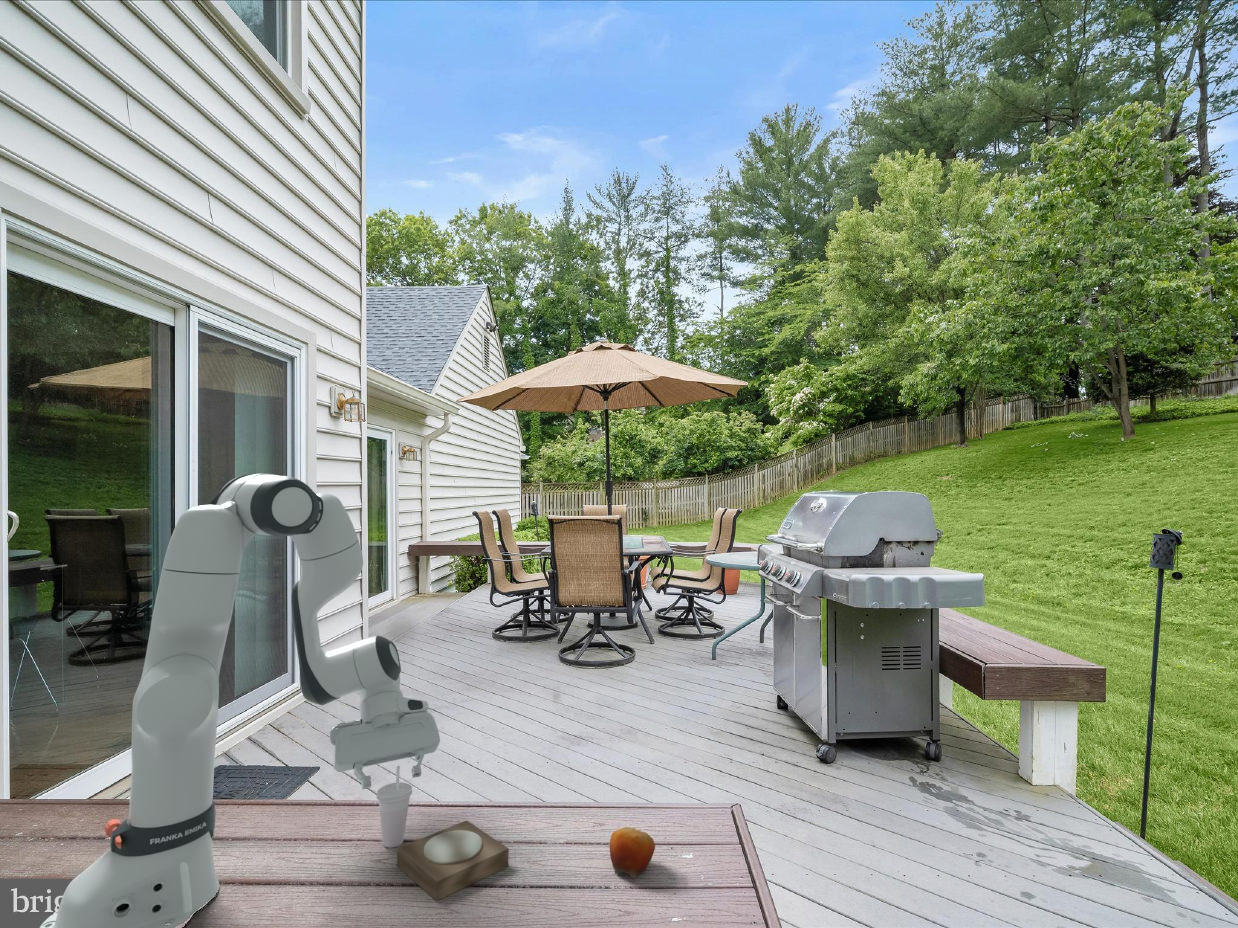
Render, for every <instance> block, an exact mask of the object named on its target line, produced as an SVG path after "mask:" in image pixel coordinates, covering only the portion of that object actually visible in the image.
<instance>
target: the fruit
mask: <svg viewBox="0 0 1238 928" xmlns="http://www.w3.org/2000/svg"><path fill="white" fill-rule="evenodd" d="M609 839H610V840H609V853H610V855H609V856H610V860H611V864H612V868H613V870H614V875H617V874H618V873H625V874H627V875H629V876H631V877H632V878H633V881H634V882H636V876H637V875H639V874H641V873H642V874H643V872H644V871H645V870H646V869H647V868H648V866H649V864H650V863H651V861H652V858H653V855H654V852H655V850H656V844H655V841H654V839H653V837H652V836H651V835H650V834H649V833H647V831H646V832H645V831H642V830H640V829H636V828H635V827H627V826H624V827H621V828H619V829H617V830H613V832H612V833H611V836H610V838H609Z"/></svg>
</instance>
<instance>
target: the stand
mask: <svg viewBox="0 0 1238 928" xmlns="http://www.w3.org/2000/svg"><path fill="white" fill-rule="evenodd" d="M509 850H510V849H509V847H507V846H506V845H504V844H503V843H501V842H500V841H499V840H497V839H495V838H494V837H492V836H490V835H489V834H488V833H486V832H485V831H483V830H482V829H480V828H479V827H477V826H476V825H475V824H473V823H471V822H470V821H468V820H465V821H464V820H463V821H462V822H460V823H457V824H454V825H451V826H449V827H446V828H444V829H442V830H440V831H437V832H434V833H432V834H429V835H427V836H424V837H421V838H419V839H417V840H414V841H412V842H411V841H410V842H409V843H407V844H404V845H402V846H399V847H397V853H396V854H397V855H396V856H397V857H396V859H397V860H396V867H398V868H399V869H400V870H401V871H403V873H405V874H406V875H407V876H408V877H409V878H410V879H411V880H412V881H413V882H415V884H417V886H419V887H420V888H421V889H422V890H423V891H424V892H426V894H428V895H429V896H430V897H431V898H432V899H434V901H436V902H437V901H440V900H442V899H444V898H445V897H448V896H450V895H452V894H455V893H456V892H458V891H460V890H463V889H464V888H467V887H468V886H470V885H472V884H474V883H477V882H478V881H481V880H482V879H484V878H487V877H489V876H491V875H493V874H495V873H497V872H499V871H501V870H503V869H505V868H507V867H509V852H510V851H509Z"/></svg>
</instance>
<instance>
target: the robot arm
mask: <svg viewBox="0 0 1238 928" xmlns="http://www.w3.org/2000/svg"><path fill="white" fill-rule="evenodd" d="M256 535H261V536H273V537H290V540H291V541H293V543H294V546H295V549H296V552H297V556H298V558H299V562H300V569H301V570H300V571H301V572H300V577H299V580H298V581H297V582H296V583H294V584H293V586H292V590H291V601H290V602H291V612H292V621H293V622H292V623H293V631H294V636H295V637H294V638H295V644H296V650H297V651H296V652H297V657H298V667H299V676H298V677H299V687H300V691H301V693H302V696H303V698H304V700H307V701H308V702H310V703H313V704H315V705H320V706H325V705H327V704H329V703H331V702H334V701H337V700H339V699H340V698H342V697H345V696H348V695H350V694H353V693H358V695H359V705H358V709H359V716H360V717H359V719H356V720H351V721H347V722H345V721H344V722H343V721H342V722H339V723H337V725H335V726H333V727H332V728H331V730H330V732H329V740H330V743H331V744H332V745H333V754H332V755H333V757H332V767H333V770H335V771H336V772H337V773H342V772H346V771H351V770H353V775H354V776H355V777H356V778H357V780H359V781H360V784H361V790H367V789H370V788H372V780H371V779H372V778H371V777H372V775H366V774H365V773H364V771H363V768H365V767H369V766H375V765H379V764H384V763H389V762H393V761H394V762H395V761H399V760H404V759H409V758H412V757H414V760H415V761H416V762H417V764H416V765H413V766H412V767H411V769H410V771H411V778H412V779H413V778H419V777H421V775H422V766H421V765H422V762H423V759H424V758H425V755H428V754H433V753H435V752H436V751H437V749H438V748H439V745H440V743H441V737H440V733H439V728H438V725H437V723H436V720H435V717H434V716H433V714H431V713H430V712H428V710H429V703H428V701H427V700H425V699H424V700H423V699H416V698H409V697H406V696H404V695H403V692H402V690H401V686H400V685H401V676H400V674H401V673H402V666H401V661H400V657H399V655H400V654H399V652H398V649H397V647H396V645H395V643H394V642H393V641H392V640H390V639H388V638H386V637H385V636H381V635H374V636H370V637H367V638H364V639H360V640H357V641H354V642H353V643H350V644H346V645H343V646H340V647H336V648H334V649H330V650H325V649H323V648H322V644H321V638H320V637H321V636H320V630H319V624H318V622H319V621H318V614H319V611H321V609H323V607H324V606H326V605H327V604H328V603H329V602H331V601H332V600H333V599H335V598H336V597H338V596H339V595H340V594H342V593H344V592H345V591H346V590H347V589H349V588H350V587H351V585H353V583H354V582H355V581H356V580H357V579H358V577H360V575H361V572H362V569H363V566H364V557H363V551H362V548H361V544H360V543H361V542H360V541H359V538H358V535H357V532H356V529H355V527H354V524H353V522H352V520H351V517H350V516H349V514H348V512H347V509H346V508H345V506H344V505H343V502H342V501H341V500H340V498H338V497H337V496H335V495H333V494H330V493H324V492H323V493H322V492H321V493H316V492H314V490H313V489H312V488H311V487H310V486H309V485H308V484H306V483H305V482H304V481H301V479H298V478H295V477H292V476H289V475H278V474H274V473H265V472H264V473H255V474H253V473H251V474H243V475H239V476H237V477H234V478H233V479H231V480H229V481H228V482H227V483H226V484H225V485H224V486H223V487H222V488H221V490H220V491H219V493H218V494H217V495H216V496H215V497H214V499H213V500H211V502H210V503H209V504H202V505H197V506H193V507H190V508H189V509H187V510H185V511H184V512H183V513H182V514H181V515H180V516H179V518H178V520H177V522H176V525H175V527H174V529H173V532H172V534H171V537H170V539H169V542H168V544H167V545H168V546H167V548H166V551H165V555H164V558H163V563H162V567H161V573H160V576H159V577H160V578H159V582H158V588H157V592H156V597H155V600H154V601H155V602H154V607H153V611H152V615H151V623H150V630H149V636H148V641H147V647H146V652H145V657H144V664H143V669H142V673H141V674H142V675H141V677H140V680H139V683H138V686H137V689H136V691H135V693H134V696H133V699H132V708H131V709H132V714H131V776H130V792H129V794H130V795H129V810H128V817H127V818H126V819H125V820H124V821H123V822H121V821H120V820H119V819H117V818H115V819H114V818H113V819H111V820H109V821H108V822H107V823H106V824H105V825H104V829H103V830H104V832H105V835H106V836H107V837H110V841H109V842H110V845H109V846H110V848H109V849H108V850H107V851H105V852H104V854H102V855H101V856H100V857H98V859H96V860H95V861H94V862H92V864H91V865H89V866H88V867H87V868H85V869H84V870H83V871H82V872H80V874H78V875H77V876H75V878H73V879H72V880H71V881H70V883H69V884H68V886H67V887H66V888H65V890H64V892H63V895H62V897H61V901H60V904H59V906H58V910H57V912H55V913H54V914H51V915H50V916H48V917H47V918H46V919H45V920H44V921H43V923H41V925H40V926H39V928H175V927H176V926H178V925H180V924H182V923H184V922H185V921H187V919H188V918H190V916H191V915H192V914H193V913H194V912H195V911H196V910H198V909H199V908H200V907H202V906H203V905H204V904H206V902H208V901H209V900H210V899H212V898H213V896H215V895H216V893H217V892H218V893H219V891H220V888H219V887H221V886H220V882H219V879H218V876H217V873H216V872H217V871H216V866H215V861H214V860H215V859H214V853H213V838H214V835H215V834H214V833H215V830H216V815H217V813H216V812H217V808H216V801H214V799H213V798H214V797H213V795H214V776H215V761H216V760H215V757H216V743H217V728H218V714H219V697H220V681H219V680H220V672H221V666H222V661H223V657H224V652H225V648H226V642H227V637H228V634H229V630H230V625H231V622H232V616H233V612H234V611H233V610H234V606H235V605H234V604H235V600H236V596H237V595H236V594H237V589H238V584H239V580H240V579H239V578H240V572H241V568H242V560H243V554H244V552H245V550H246V547H247V546H248V544H249V542H250V541H251V540H252V539H253V537H254V536H256ZM218 890H219V891H218ZM218 893H217V894H218ZM216 896H217V895H216ZM216 896H215V897H216ZM167 923H171V924H170V925H167V926H165V924H167Z"/></svg>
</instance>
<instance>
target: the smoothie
mask: <svg viewBox="0 0 1238 928" xmlns="http://www.w3.org/2000/svg"><path fill="white" fill-rule="evenodd" d="M400 768H401V766H400V765H397V766H396V772H395V773H396V776H395V778H396V779H395V782H391V783H388V784H385V785H383V786H382V787H379V789H377V791H376V792H377V793H376V799H377V800H378V807H379V817H380V818H379V819H380V827H381V838H382V846H383V847H384V848H395V847H398V846H400V845H402V844H403V842H404V839H405V831H406V825H407V818H408V810H409V805H410V801H411V800H410V798H411V795H413V794H412V793H413V787H412V785H411V784H410V783H407V782H400V770H401V769H400Z"/></svg>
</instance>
